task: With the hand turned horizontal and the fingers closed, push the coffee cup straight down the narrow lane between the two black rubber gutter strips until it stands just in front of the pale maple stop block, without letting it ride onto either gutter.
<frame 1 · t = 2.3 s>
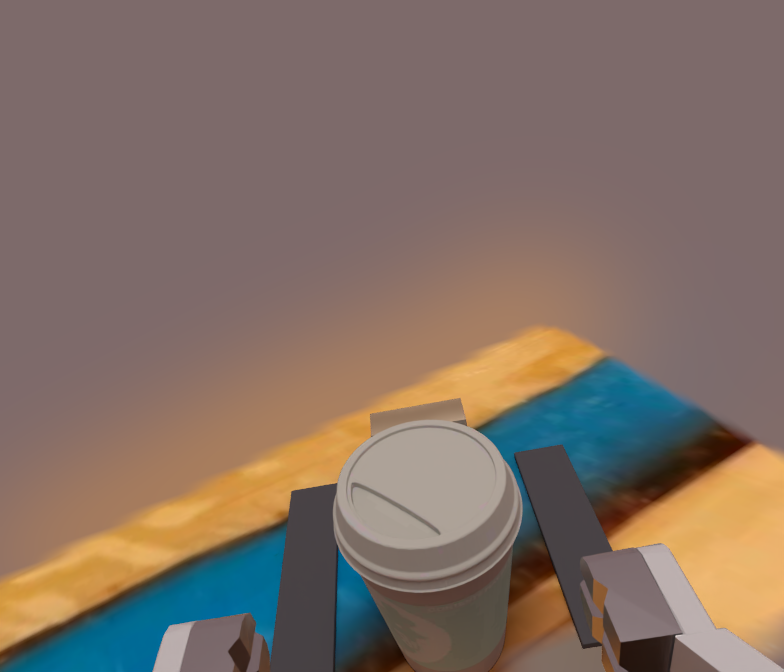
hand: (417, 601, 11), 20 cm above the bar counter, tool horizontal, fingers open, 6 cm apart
coffee cup: (451, 632, 31), on the bar counter
maple stop block: (422, 446, 43), on the bar counter
gutter strips: (439, 553, 35), on the bar counter
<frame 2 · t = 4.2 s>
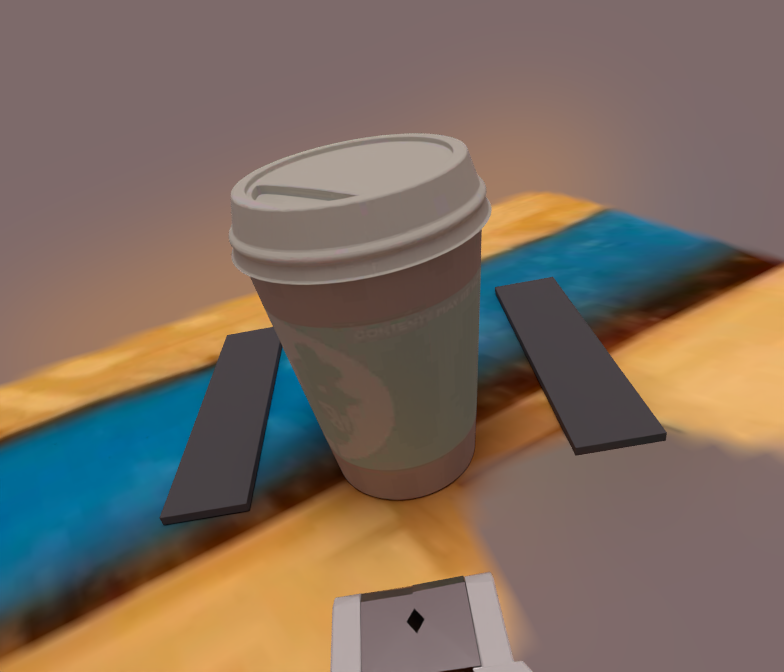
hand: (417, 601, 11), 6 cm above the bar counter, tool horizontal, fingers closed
coffee cup: (407, 451, 24), on the bar counter
gutter strips: (397, 379, 28), on the bar counter
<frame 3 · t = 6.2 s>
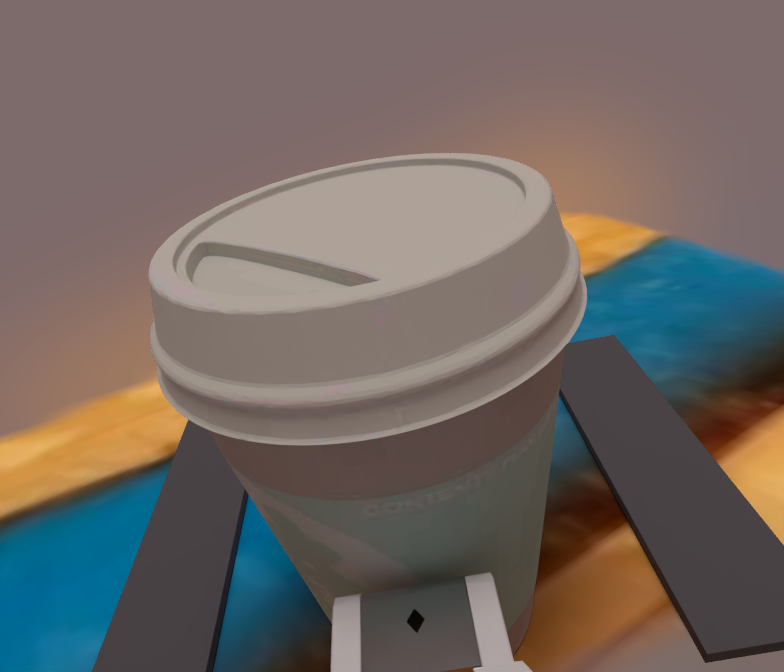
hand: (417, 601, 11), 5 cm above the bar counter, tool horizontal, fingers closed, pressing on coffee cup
coffee cup: (434, 596, 17), on the bar counter, touching gripper
gutter strips: (417, 494, 20), on the bar counter
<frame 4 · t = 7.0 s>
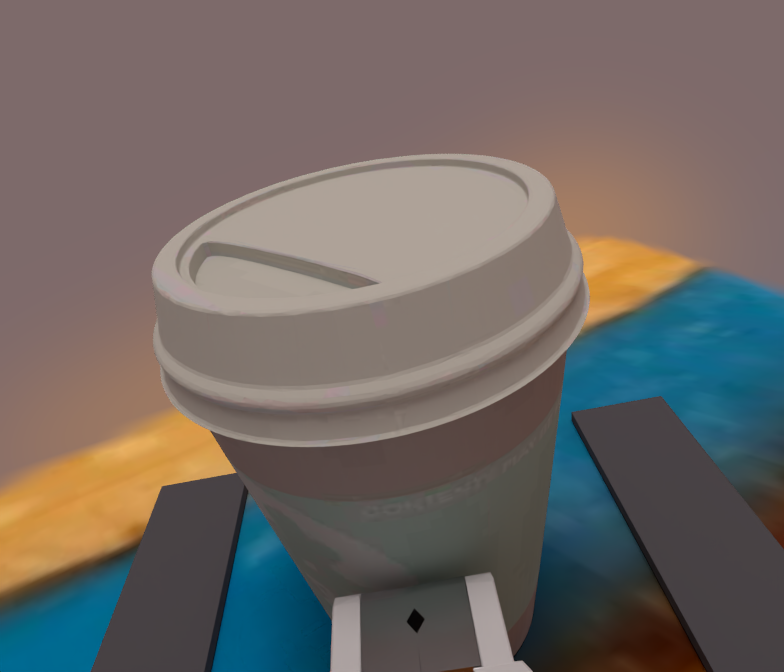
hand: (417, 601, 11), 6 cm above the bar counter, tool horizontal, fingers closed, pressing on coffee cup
coffee cup: (435, 596, 17), on the bar counter, touching gripper
gutter strips: (432, 615, 16), on the bar counter
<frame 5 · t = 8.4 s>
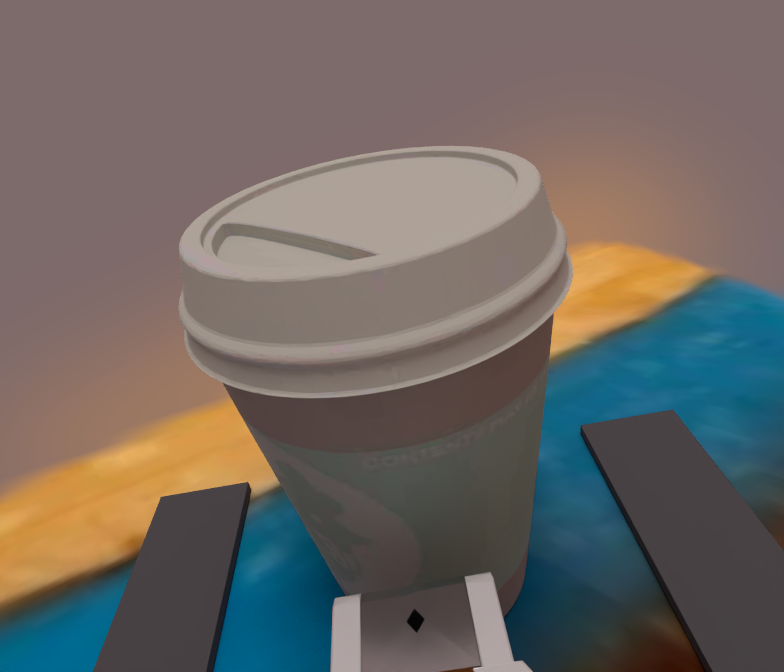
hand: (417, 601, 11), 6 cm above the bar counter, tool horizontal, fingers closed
coffee cup: (433, 563, 18), on the bar counter
gutter strips: (436, 638, 16), on the bar counter
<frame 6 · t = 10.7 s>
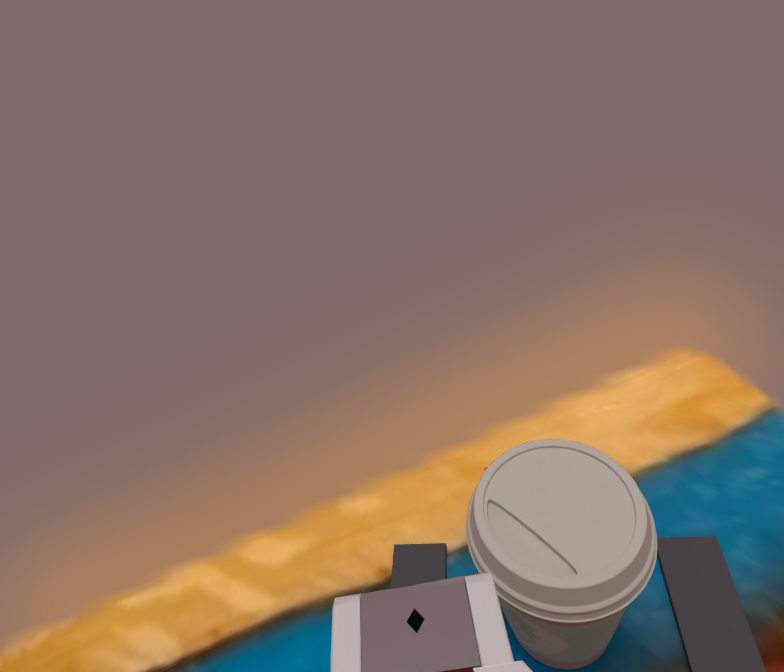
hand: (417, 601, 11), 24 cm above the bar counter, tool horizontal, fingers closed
coffee cup: (559, 617, 33), on the bar counter
gutter strips: (562, 663, 31), on the bar counter
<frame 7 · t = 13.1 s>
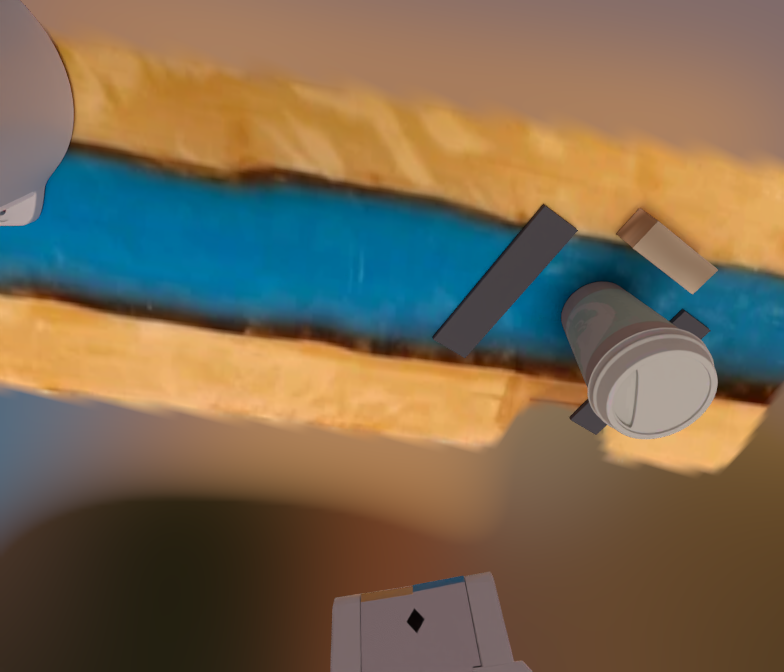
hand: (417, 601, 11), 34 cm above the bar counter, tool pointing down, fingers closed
coffee cup: (593, 310, 48), on the bar counter
maple stop block: (657, 244, 44), on the bar counter
gutter strips: (572, 332, 48), on the bar counter
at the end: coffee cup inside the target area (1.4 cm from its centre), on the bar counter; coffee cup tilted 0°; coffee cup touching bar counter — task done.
